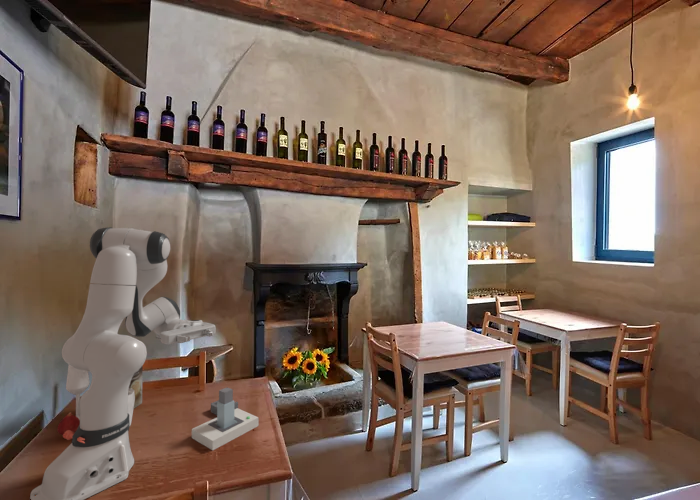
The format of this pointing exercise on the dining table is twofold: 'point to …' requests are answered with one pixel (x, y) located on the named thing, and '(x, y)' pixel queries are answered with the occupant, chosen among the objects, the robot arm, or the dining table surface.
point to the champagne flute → (77, 384)
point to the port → (224, 430)
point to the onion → (68, 424)
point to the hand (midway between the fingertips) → (200, 336)
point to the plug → (225, 408)
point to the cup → (131, 403)
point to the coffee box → (137, 386)
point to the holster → (214, 407)
